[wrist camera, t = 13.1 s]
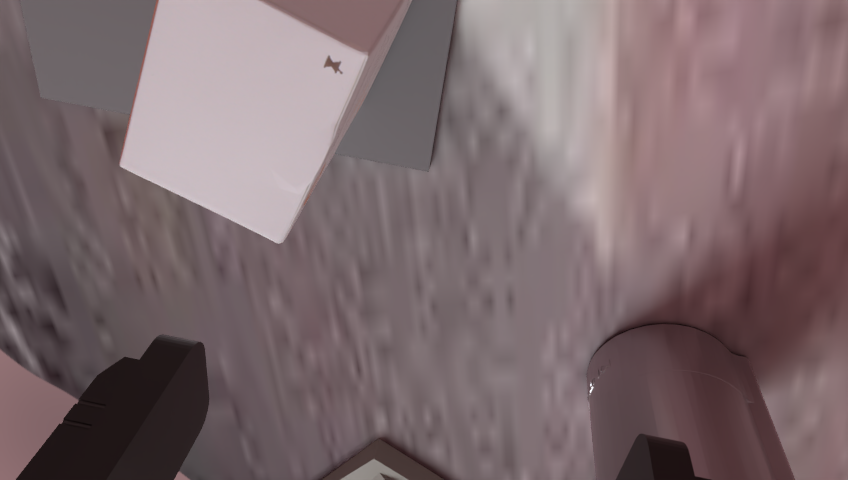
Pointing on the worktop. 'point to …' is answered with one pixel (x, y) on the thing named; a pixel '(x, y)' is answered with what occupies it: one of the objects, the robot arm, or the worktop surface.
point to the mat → (125, 46)
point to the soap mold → (381, 466)
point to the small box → (253, 99)
